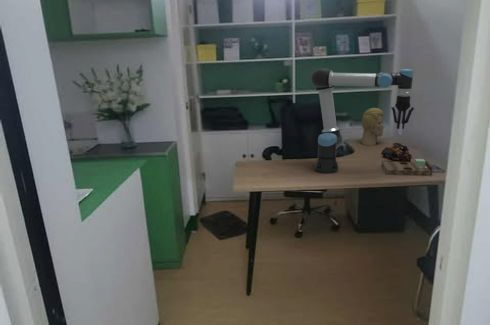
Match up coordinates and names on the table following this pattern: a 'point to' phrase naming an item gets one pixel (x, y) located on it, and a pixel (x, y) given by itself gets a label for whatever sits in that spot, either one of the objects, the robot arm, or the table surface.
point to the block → (419, 163)
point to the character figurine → (397, 153)
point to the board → (406, 168)
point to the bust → (372, 126)
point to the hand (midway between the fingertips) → (399, 134)
